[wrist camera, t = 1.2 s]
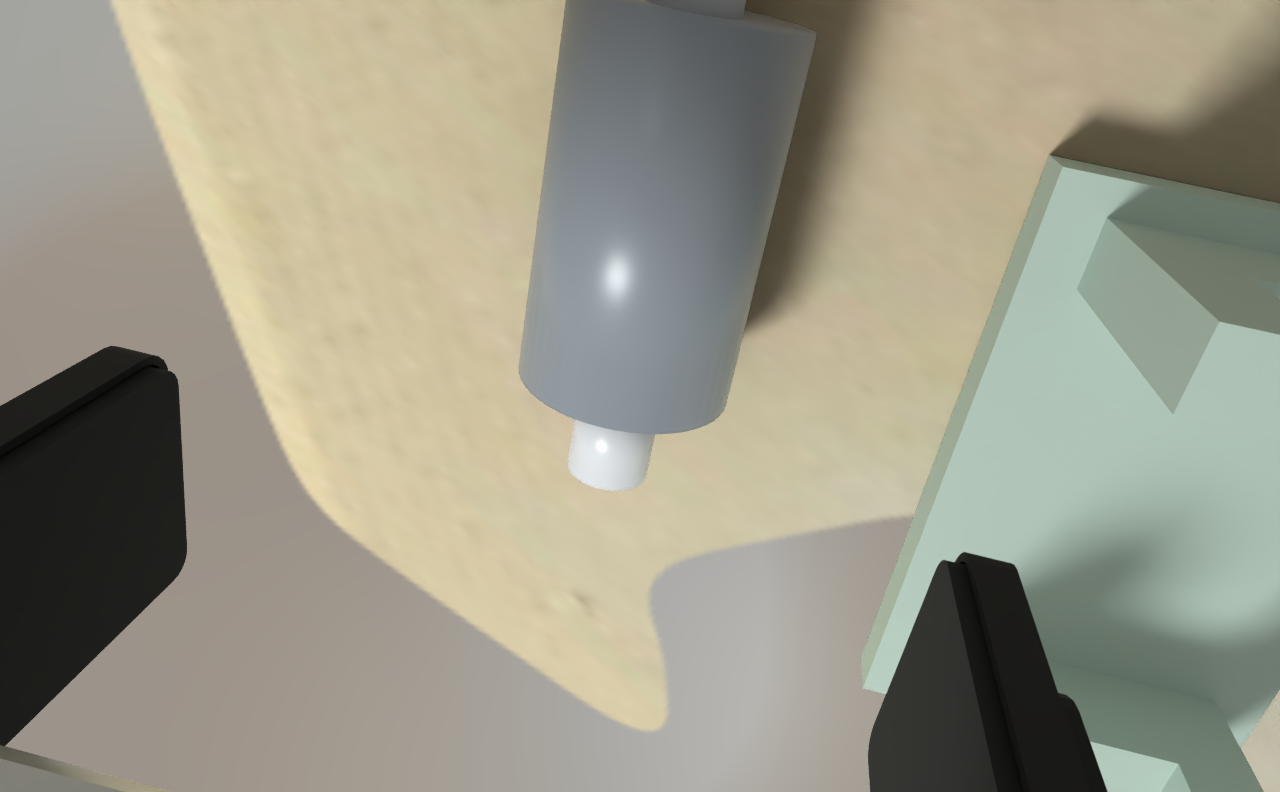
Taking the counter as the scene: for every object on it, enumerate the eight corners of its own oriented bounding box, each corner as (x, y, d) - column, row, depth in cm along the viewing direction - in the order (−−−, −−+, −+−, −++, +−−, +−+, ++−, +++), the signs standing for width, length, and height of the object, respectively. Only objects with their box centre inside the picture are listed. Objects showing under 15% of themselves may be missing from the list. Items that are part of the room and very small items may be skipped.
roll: (656, -139, 24) (534, -177, 19) (879, -99, 22) (808, -130, 17) (570, 399, 32) (466, 472, 27) (733, 463, 30) (654, 556, 25)
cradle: (1049, 155, 25) (1160, 252, 17) (1514, 252, 24) (1862, 404, 16) (860, 658, 33) (876, 884, 25) (1203, 744, 32) (1332, 1006, 24)
